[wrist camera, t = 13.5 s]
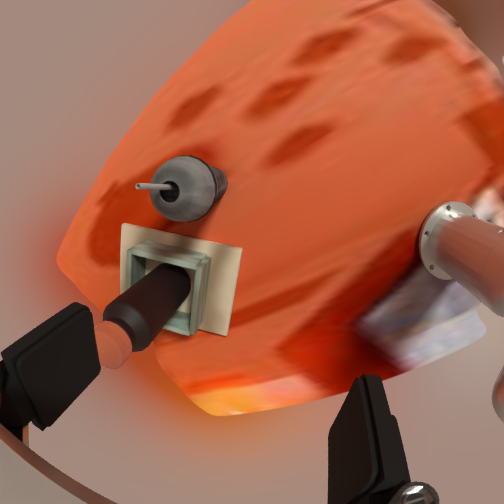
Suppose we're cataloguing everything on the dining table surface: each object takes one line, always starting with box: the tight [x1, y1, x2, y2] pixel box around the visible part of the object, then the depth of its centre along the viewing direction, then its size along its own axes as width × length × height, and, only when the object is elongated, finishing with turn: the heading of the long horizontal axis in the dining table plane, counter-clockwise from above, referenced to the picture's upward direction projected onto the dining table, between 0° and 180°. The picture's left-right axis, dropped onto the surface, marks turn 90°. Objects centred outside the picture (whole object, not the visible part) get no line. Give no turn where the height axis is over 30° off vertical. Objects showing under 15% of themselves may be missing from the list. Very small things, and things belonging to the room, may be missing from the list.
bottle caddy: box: [120, 223, 243, 336], centre depth 43 cm, size 20×15×6 cm
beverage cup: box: [136, 155, 228, 222], centre depth 31 cm, size 7×7×20 cm
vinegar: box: [94, 263, 191, 369], centre depth 35 cm, size 7×7×20 cm
